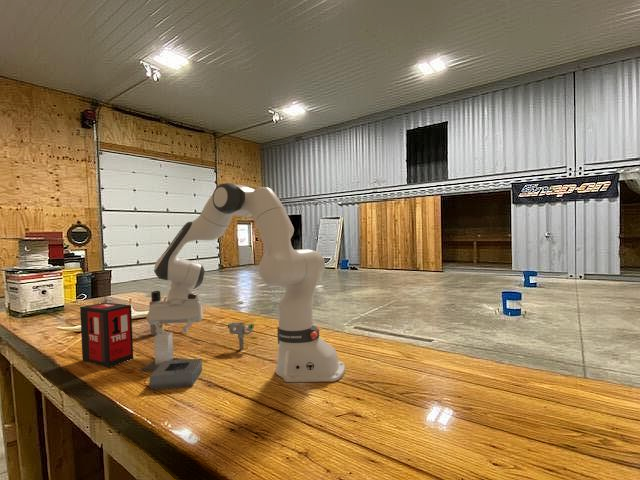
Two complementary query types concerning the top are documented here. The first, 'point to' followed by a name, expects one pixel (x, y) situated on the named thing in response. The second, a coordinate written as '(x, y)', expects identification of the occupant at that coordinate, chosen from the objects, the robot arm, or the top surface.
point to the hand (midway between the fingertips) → (171, 332)
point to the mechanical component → (240, 331)
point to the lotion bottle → (155, 298)
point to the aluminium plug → (163, 348)
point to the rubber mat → (152, 367)
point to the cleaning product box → (106, 333)
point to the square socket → (176, 374)
